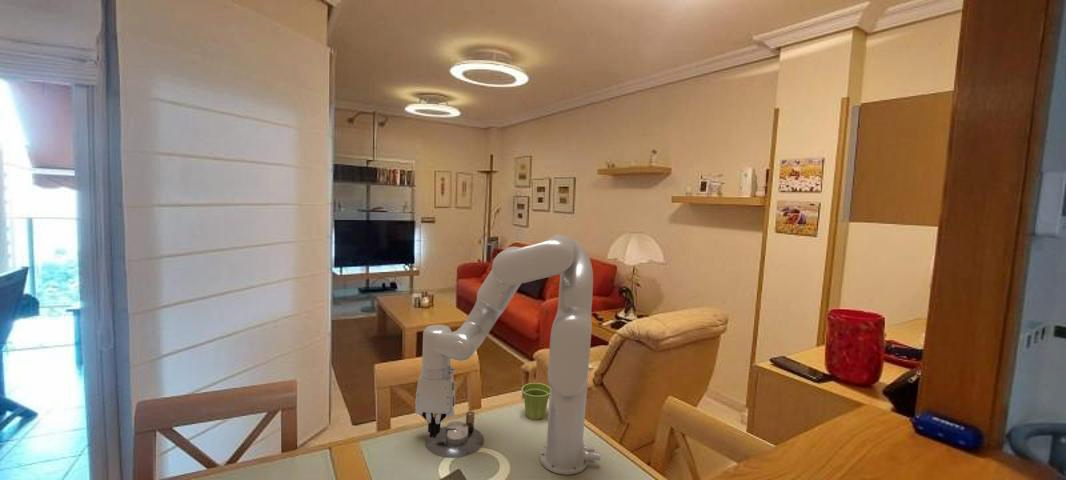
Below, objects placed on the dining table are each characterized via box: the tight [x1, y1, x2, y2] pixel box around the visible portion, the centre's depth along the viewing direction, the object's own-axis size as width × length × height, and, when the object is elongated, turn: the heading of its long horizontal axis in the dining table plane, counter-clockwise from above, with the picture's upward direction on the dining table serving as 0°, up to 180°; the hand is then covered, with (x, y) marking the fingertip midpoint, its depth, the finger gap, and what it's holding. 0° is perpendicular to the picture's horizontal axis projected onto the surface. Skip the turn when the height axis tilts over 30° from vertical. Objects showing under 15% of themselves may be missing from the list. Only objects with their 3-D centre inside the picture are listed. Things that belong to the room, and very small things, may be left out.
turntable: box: [424, 410, 485, 459], centre depth 125 cm, size 16×16×6 cm
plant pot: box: [521, 382, 550, 421], centre depth 144 cm, size 9×9×9 cm
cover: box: [445, 421, 468, 447], centre depth 125 cm, size 6×6×4 cm
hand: (434, 434), depth 126 cm, fingers closed
